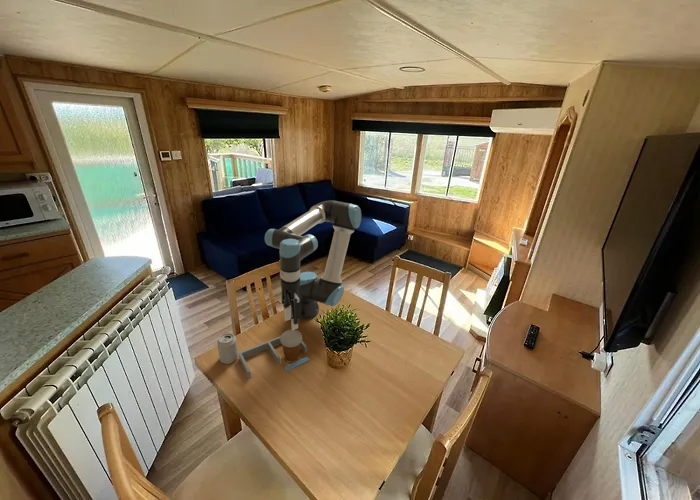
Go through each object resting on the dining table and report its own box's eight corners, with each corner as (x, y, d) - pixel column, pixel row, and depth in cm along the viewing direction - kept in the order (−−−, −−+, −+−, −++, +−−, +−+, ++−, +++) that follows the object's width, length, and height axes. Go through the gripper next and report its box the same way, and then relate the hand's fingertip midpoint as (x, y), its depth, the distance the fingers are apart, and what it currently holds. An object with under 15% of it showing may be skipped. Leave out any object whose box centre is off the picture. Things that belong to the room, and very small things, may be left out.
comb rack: (294, 336, 139) (294, 330, 138) (306, 352, 130) (306, 346, 129) (239, 358, 124) (238, 352, 122) (248, 378, 115) (247, 372, 114)
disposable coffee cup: (276, 359, 125) (275, 338, 120) (290, 345, 133) (289, 326, 128) (293, 368, 122) (292, 347, 116) (306, 354, 129) (306, 334, 124)
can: (241, 353, 127) (238, 332, 122) (233, 366, 120) (230, 345, 115) (225, 350, 127) (222, 330, 122) (216, 363, 121) (213, 342, 116)
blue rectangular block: (306, 357, 127) (306, 356, 127) (309, 360, 126) (309, 359, 126) (284, 367, 121) (284, 366, 121) (286, 371, 120) (286, 370, 119)
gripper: (271, 269, 114) (274, 314, 124) (292, 292, 101) (293, 341, 110) (288, 265, 118) (289, 309, 128) (310, 286, 105) (310, 334, 115)
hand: (291, 324), depth 119 cm, fingers open, 6 cm apart
